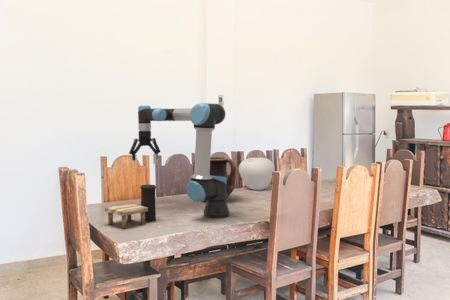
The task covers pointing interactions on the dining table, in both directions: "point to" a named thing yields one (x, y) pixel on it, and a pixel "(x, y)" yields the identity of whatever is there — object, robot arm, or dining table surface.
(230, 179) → the jug
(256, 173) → the vase
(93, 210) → the dining table surface
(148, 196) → the container
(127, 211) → the footstool
